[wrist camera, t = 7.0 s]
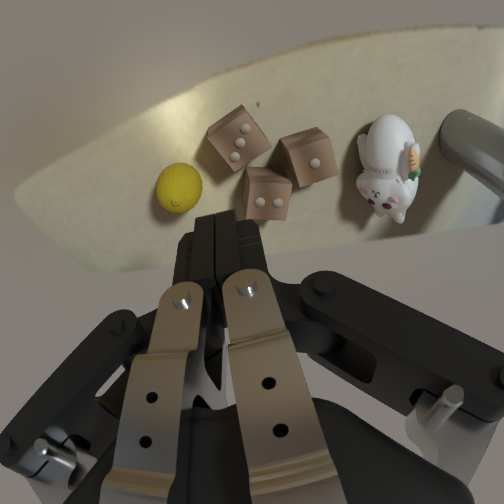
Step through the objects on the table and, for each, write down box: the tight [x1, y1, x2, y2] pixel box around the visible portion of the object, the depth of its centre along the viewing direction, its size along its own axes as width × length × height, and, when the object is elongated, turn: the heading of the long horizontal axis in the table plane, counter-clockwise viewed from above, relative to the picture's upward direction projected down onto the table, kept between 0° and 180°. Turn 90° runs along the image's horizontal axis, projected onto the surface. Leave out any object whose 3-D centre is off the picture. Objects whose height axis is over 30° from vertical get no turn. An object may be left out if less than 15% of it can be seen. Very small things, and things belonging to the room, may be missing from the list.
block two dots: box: [243, 167, 292, 221], centre depth 38 cm, size 5×5×5 cm
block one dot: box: [280, 127, 338, 188], centre depth 35 cm, size 5×5×5 cm
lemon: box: [156, 163, 202, 213], centre depth 34 cm, size 6×6×8 cm
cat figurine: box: [356, 114, 421, 224], centre depth 36 cm, size 10×8×15 cm
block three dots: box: [207, 105, 271, 172], centre depth 33 cm, size 5×5×5 cm
